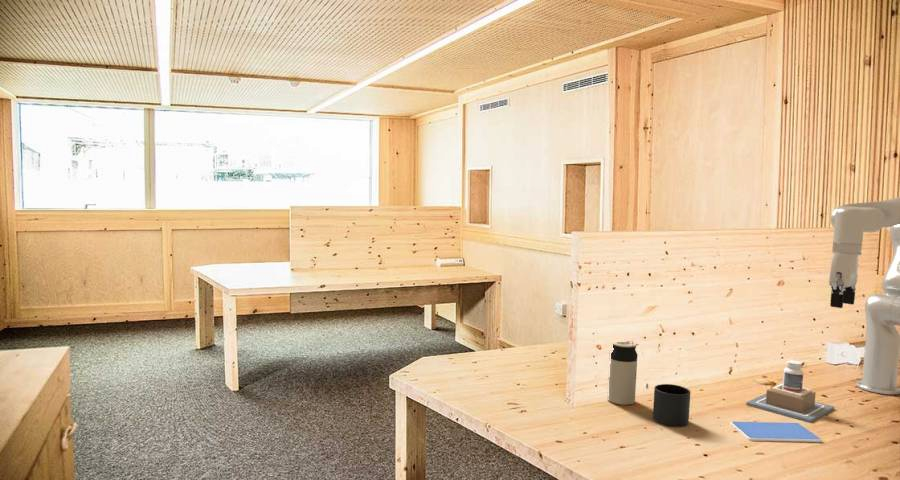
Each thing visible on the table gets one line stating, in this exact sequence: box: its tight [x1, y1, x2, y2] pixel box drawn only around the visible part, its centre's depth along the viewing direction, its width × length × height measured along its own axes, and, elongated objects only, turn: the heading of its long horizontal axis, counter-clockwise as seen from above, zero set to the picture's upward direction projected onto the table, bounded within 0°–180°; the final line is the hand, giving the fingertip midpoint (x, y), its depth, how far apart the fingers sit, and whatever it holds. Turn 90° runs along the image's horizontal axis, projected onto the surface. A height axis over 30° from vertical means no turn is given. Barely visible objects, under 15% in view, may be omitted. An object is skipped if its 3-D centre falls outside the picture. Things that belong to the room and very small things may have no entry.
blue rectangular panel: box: [729, 421, 823, 443], centre depth 175 cm, size 19×13×1 cm, turn 90°
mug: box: [652, 383, 691, 428], centre depth 183 cm, size 9×12×9 cm
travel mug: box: [607, 340, 638, 406], centre depth 196 cm, size 8×8×18 cm
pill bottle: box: [782, 359, 804, 394], centre depth 195 cm, size 5×5×9 cm
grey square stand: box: [745, 382, 835, 423], centre depth 196 cm, size 18×18×6 cm
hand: (842, 305), depth 198 cm, fingers open, 9 cm apart
